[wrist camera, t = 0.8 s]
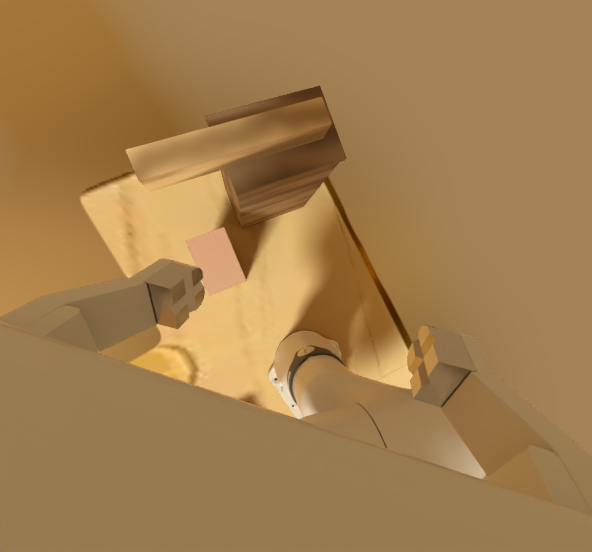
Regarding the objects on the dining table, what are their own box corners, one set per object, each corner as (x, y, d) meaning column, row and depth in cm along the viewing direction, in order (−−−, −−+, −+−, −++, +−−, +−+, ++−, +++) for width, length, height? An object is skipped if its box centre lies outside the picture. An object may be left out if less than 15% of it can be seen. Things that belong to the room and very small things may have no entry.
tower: (246, 279, 58) (246, 281, 39) (221, 289, 57) (209, 296, 37) (231, 243, 57) (223, 227, 38) (206, 253, 56) (185, 240, 37)
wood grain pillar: (304, 207, 61) (346, 158, 35) (241, 230, 58) (236, 194, 32) (288, 166, 60) (319, 85, 35) (223, 187, 57) (204, 115, 32)
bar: (323, 138, 35) (331, 123, 31) (150, 191, 30) (138, 180, 27) (314, 114, 35) (321, 96, 31) (139, 164, 30) (125, 149, 27)
